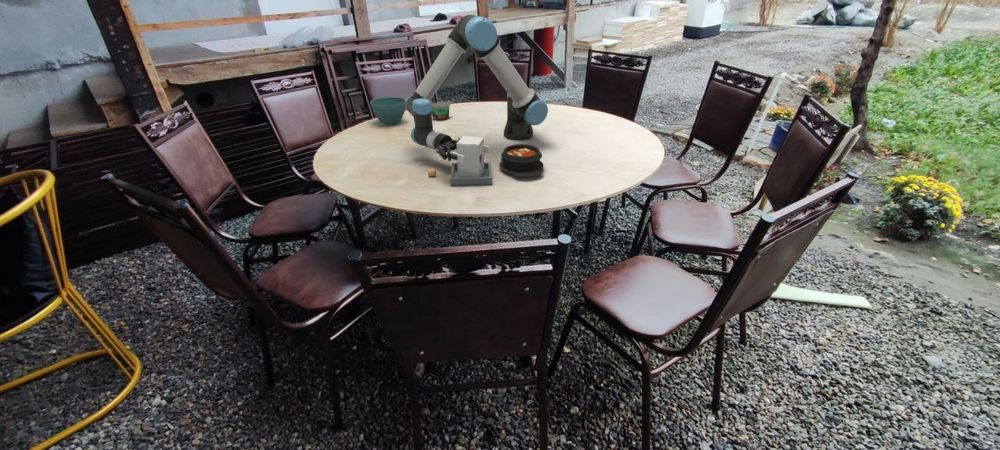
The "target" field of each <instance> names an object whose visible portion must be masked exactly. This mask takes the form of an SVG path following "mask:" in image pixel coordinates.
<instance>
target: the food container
mask: <svg viewBox="0 0 1000 450" xmlns="http://www.w3.org/2000/svg"><path fill="white" fill-rule="evenodd" d="M430 103H431V107H432V110H431V111H432V121H437V122H442V121H443V122H444V121H448V120H449V119H450V105H451V101H450V99H448V100H446V101H437V102H431V101H430Z"/></svg>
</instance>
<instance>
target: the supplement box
mask: <svg viewBox="0 0 1000 450" xmlns="http://www.w3.org/2000/svg"><path fill="white" fill-rule="evenodd" d="M460 138H461V139H460V140H459V141H458V142H457V149H456V153H458V154H461V155H463V156H465V163H462V162H459V161H456V163H457V164H458V178H471V177H482V175H483V173H484V162H485V152H484V145H485V140H484V139H485V137H482V136H471V135H470V136H468V135H462V137H460Z"/></svg>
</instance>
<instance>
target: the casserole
mask: <svg viewBox="0 0 1000 450" xmlns="http://www.w3.org/2000/svg"><path fill="white" fill-rule="evenodd" d="M500 155H501V159H500V162H499V167H500V169H501V170H503V171H505V172H507V173H510V174H512V175H514V176H515V177H518V178H531V177H536V176H540V175H542V174H544V170H543V168H544V163H543V161H542V160H541V159H542V158H543V154H542V152H541V149H540V148H539V147H537V146H535V145H532V144H524V143H520V144H519V143H518V144H516V143H515V144H511V145H508V146H506V147H504V149H503V151H502V152H501V154H500Z"/></svg>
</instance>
